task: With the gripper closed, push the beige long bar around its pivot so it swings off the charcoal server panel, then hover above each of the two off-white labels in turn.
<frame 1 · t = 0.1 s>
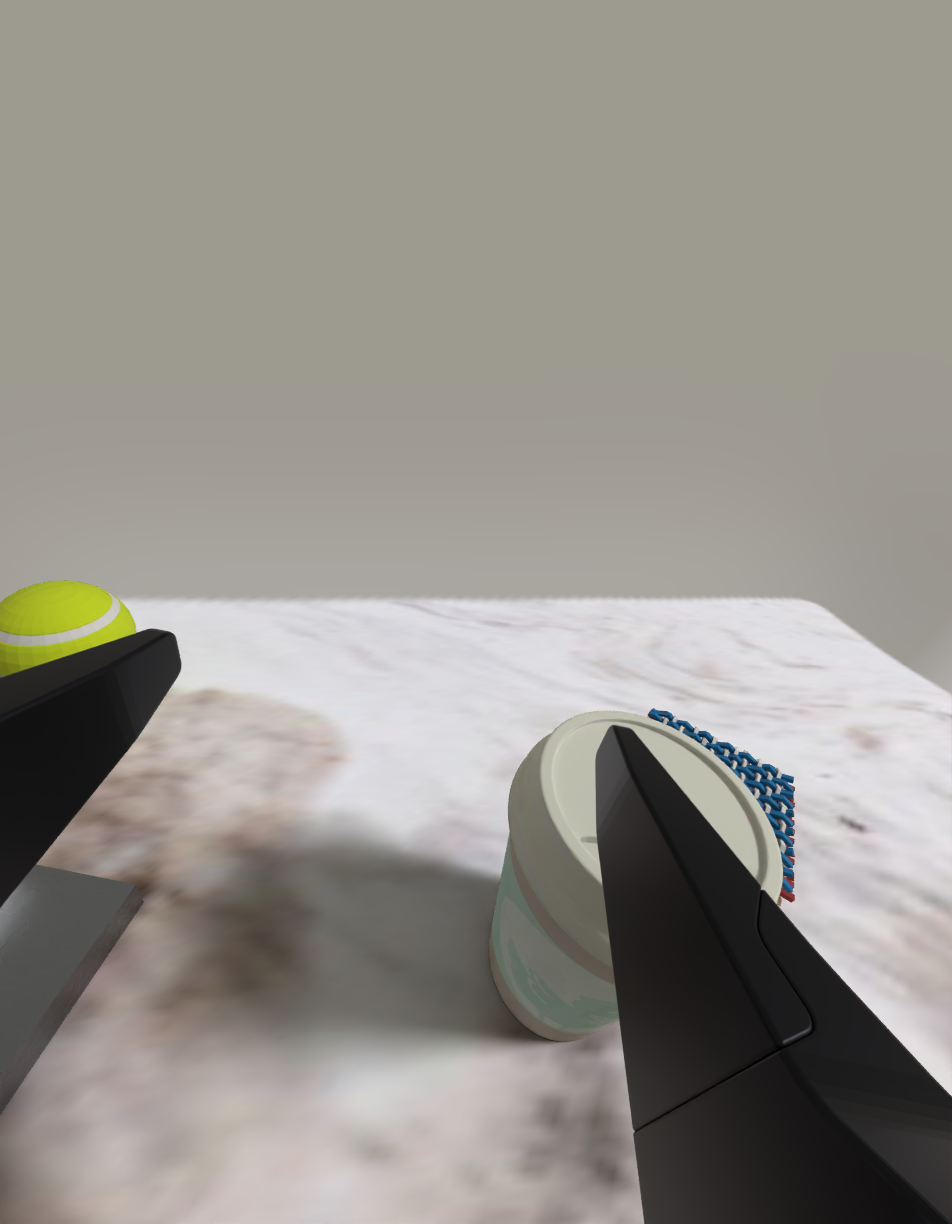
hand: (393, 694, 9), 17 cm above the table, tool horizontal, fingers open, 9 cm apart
coffee cup: (549, 958, 21), on the table
woven mat: (700, 801, 30), on the table
tennis ball: (82, 681, 29), on the table
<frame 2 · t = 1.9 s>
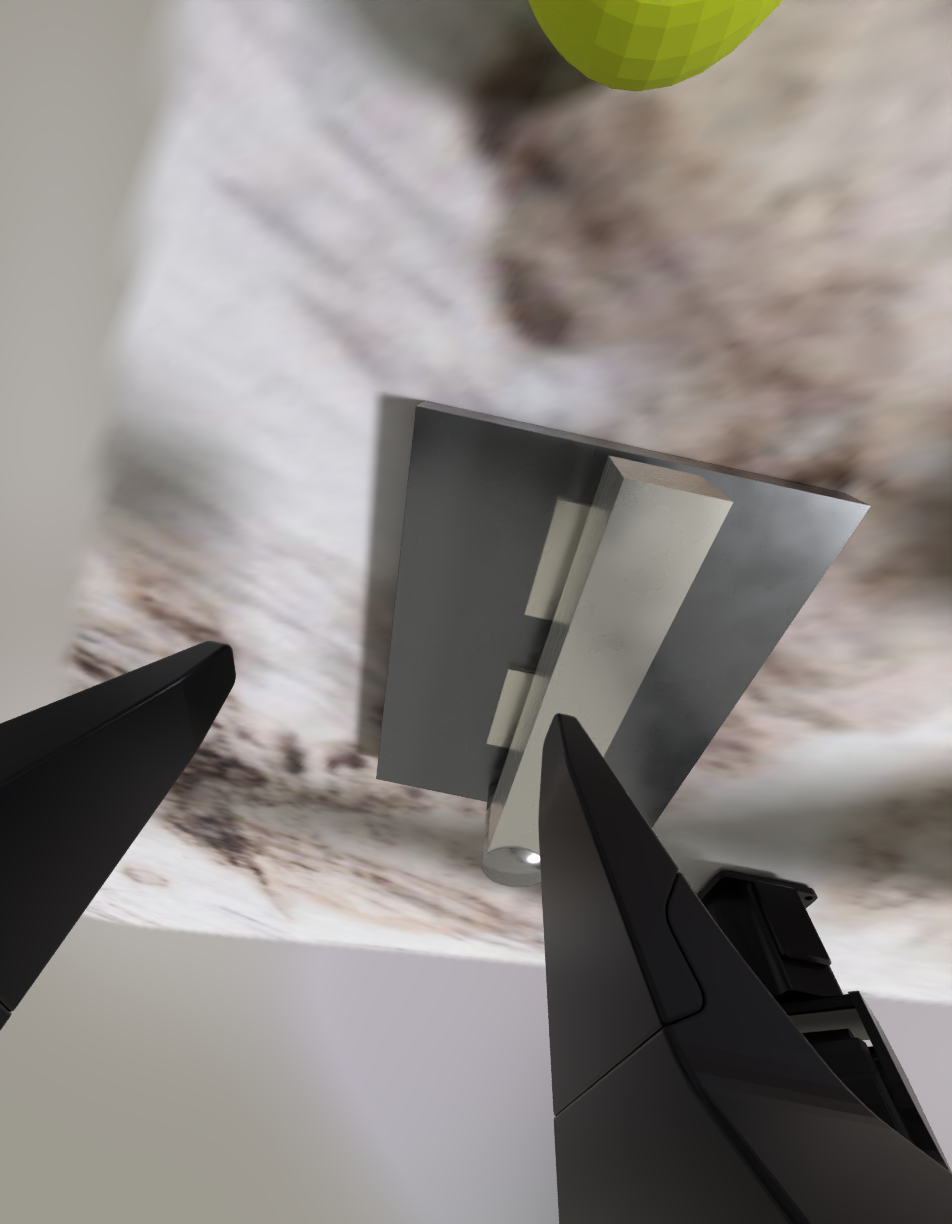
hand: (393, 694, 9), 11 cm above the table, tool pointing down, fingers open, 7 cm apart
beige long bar: (563, 723, 18), point 4 cm above the table, hinge at 0.0°
server panel: (559, 656, 22), on the table
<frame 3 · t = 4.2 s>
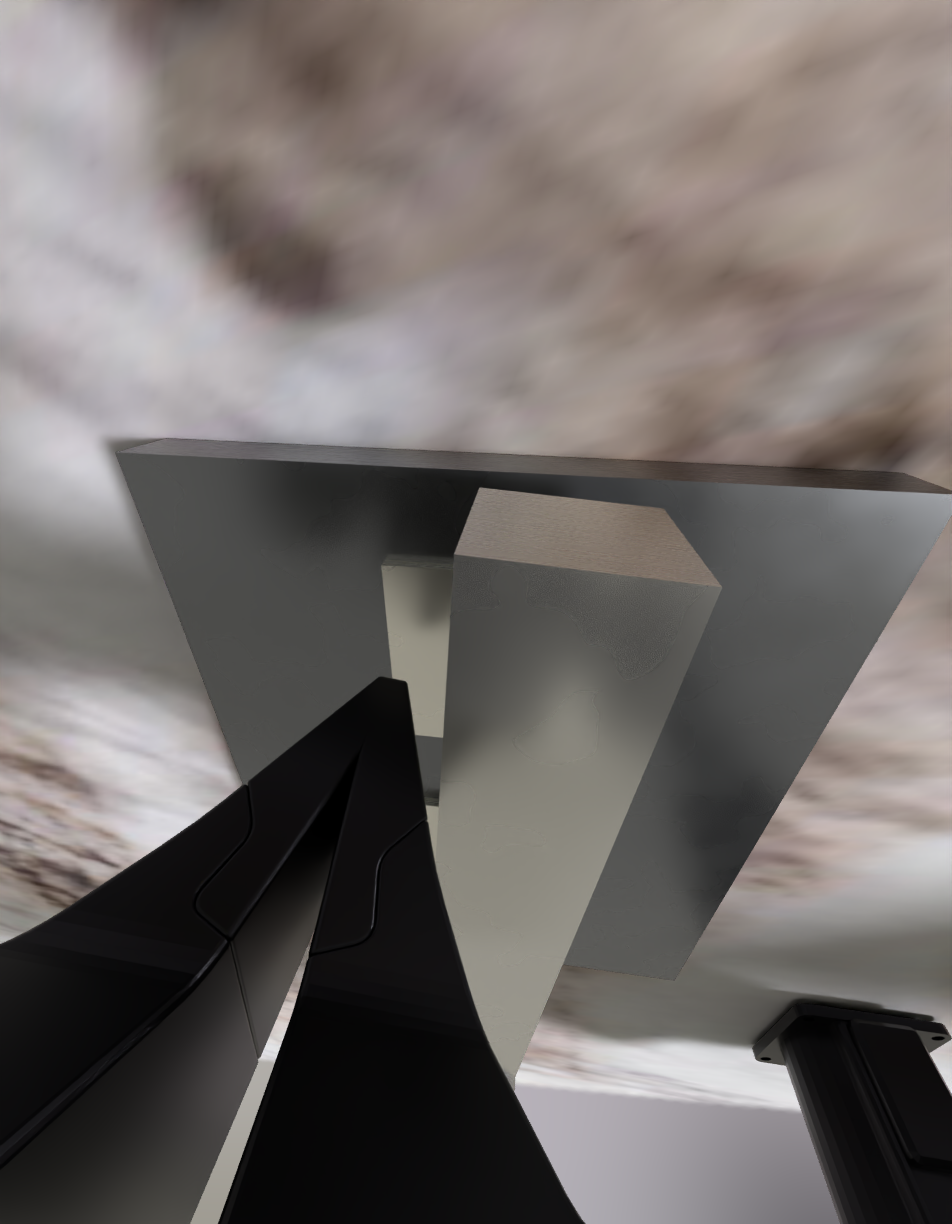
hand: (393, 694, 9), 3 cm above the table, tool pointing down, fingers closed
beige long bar: (497, 905, 12), point 4 cm above the table, hinge at -3.5°, touching gripper
server panel: (491, 764, 15), on the table
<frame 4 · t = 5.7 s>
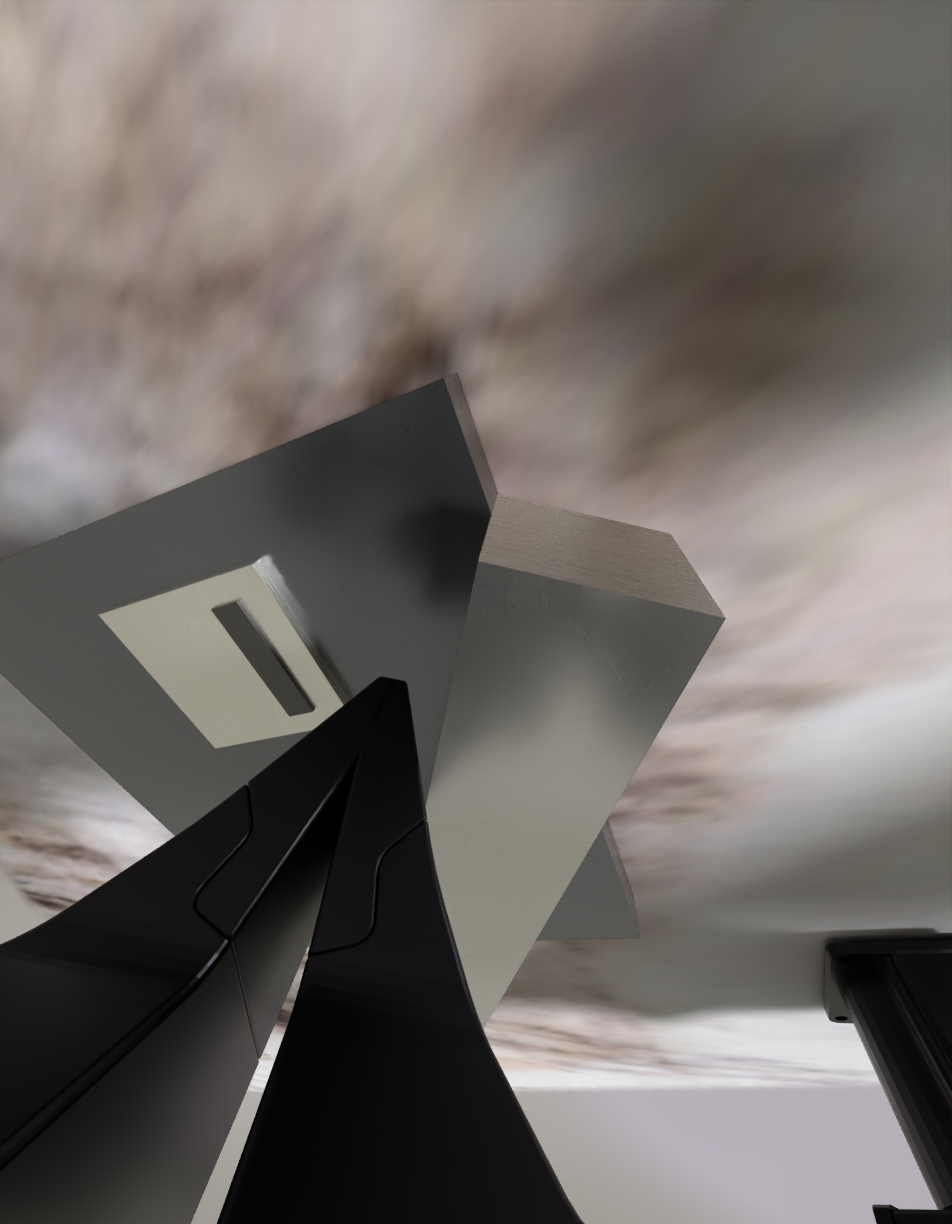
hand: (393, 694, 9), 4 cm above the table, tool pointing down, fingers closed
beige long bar: (465, 898, 12), point 4 cm above the table, hinge at -31.0°, touching gripper
server panel: (351, 757, 16), on the table
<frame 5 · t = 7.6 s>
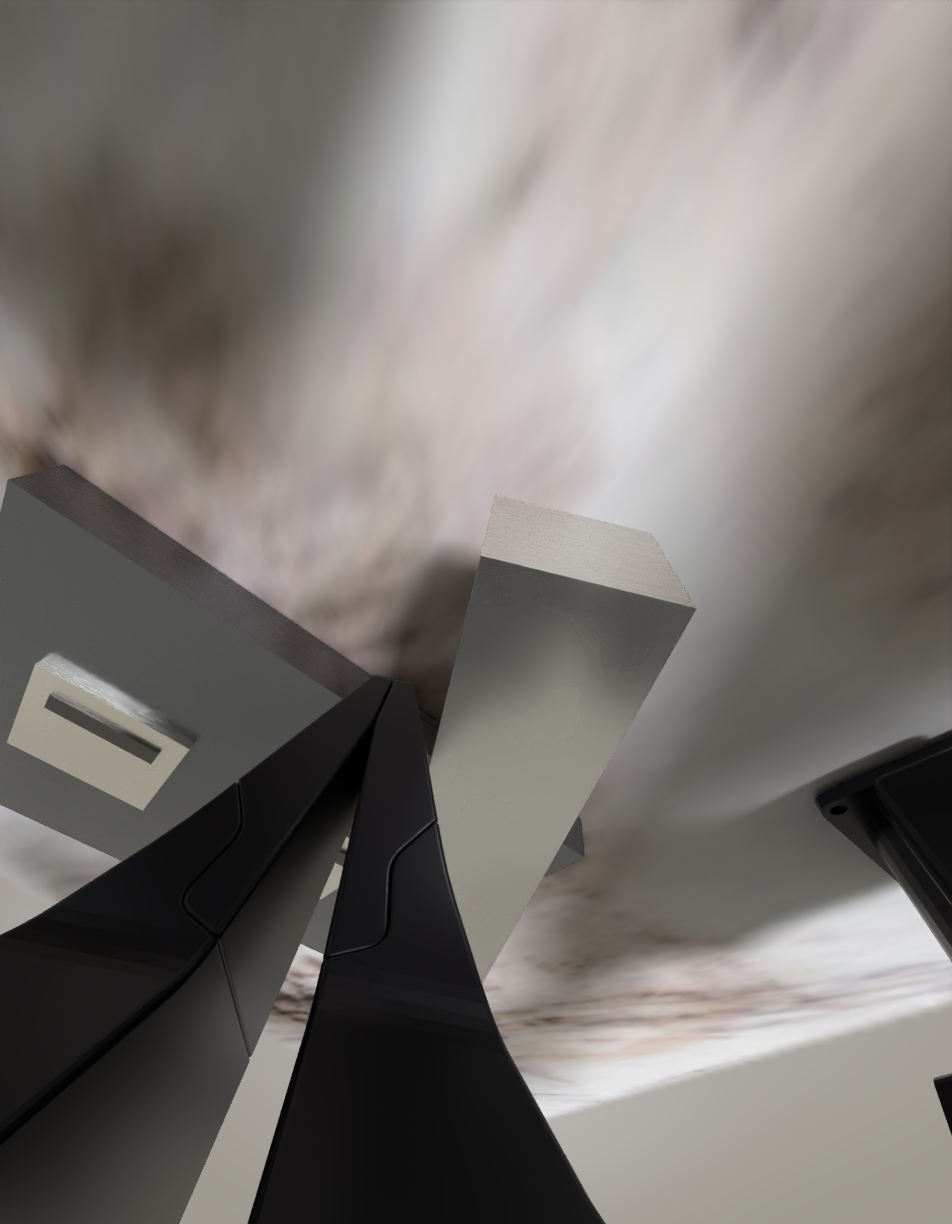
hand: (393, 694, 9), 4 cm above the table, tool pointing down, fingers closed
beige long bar: (458, 874, 13), point 4 cm above the table, hinge at -61.4°
server panel: (264, 781, 18), on the table
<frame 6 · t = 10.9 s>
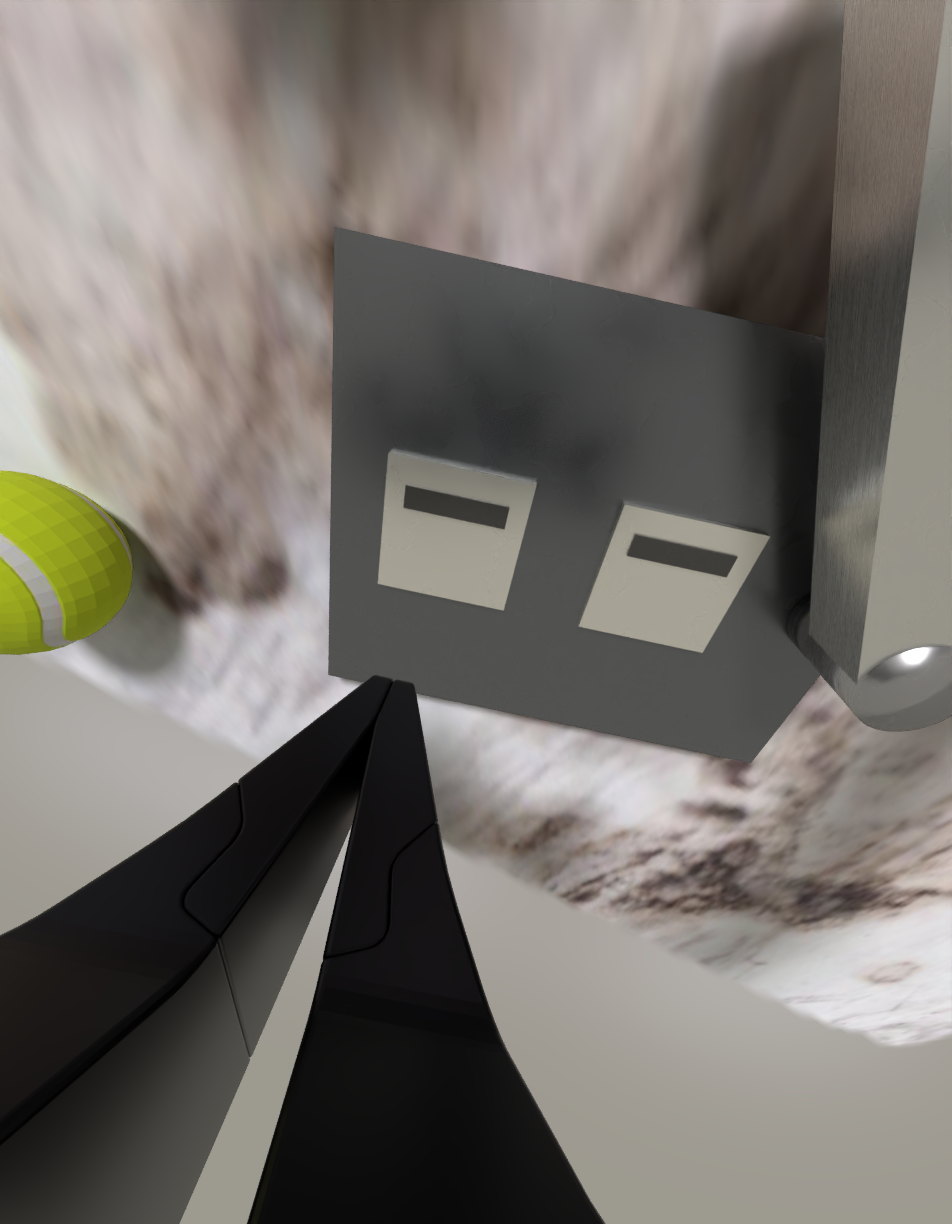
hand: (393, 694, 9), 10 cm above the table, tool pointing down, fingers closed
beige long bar: (932, 368, 10), point 4 cm above the table, hinge at -61.4°
server panel: (593, 550, 18), on the table
tennis ball: (97, 529, 20), on the table
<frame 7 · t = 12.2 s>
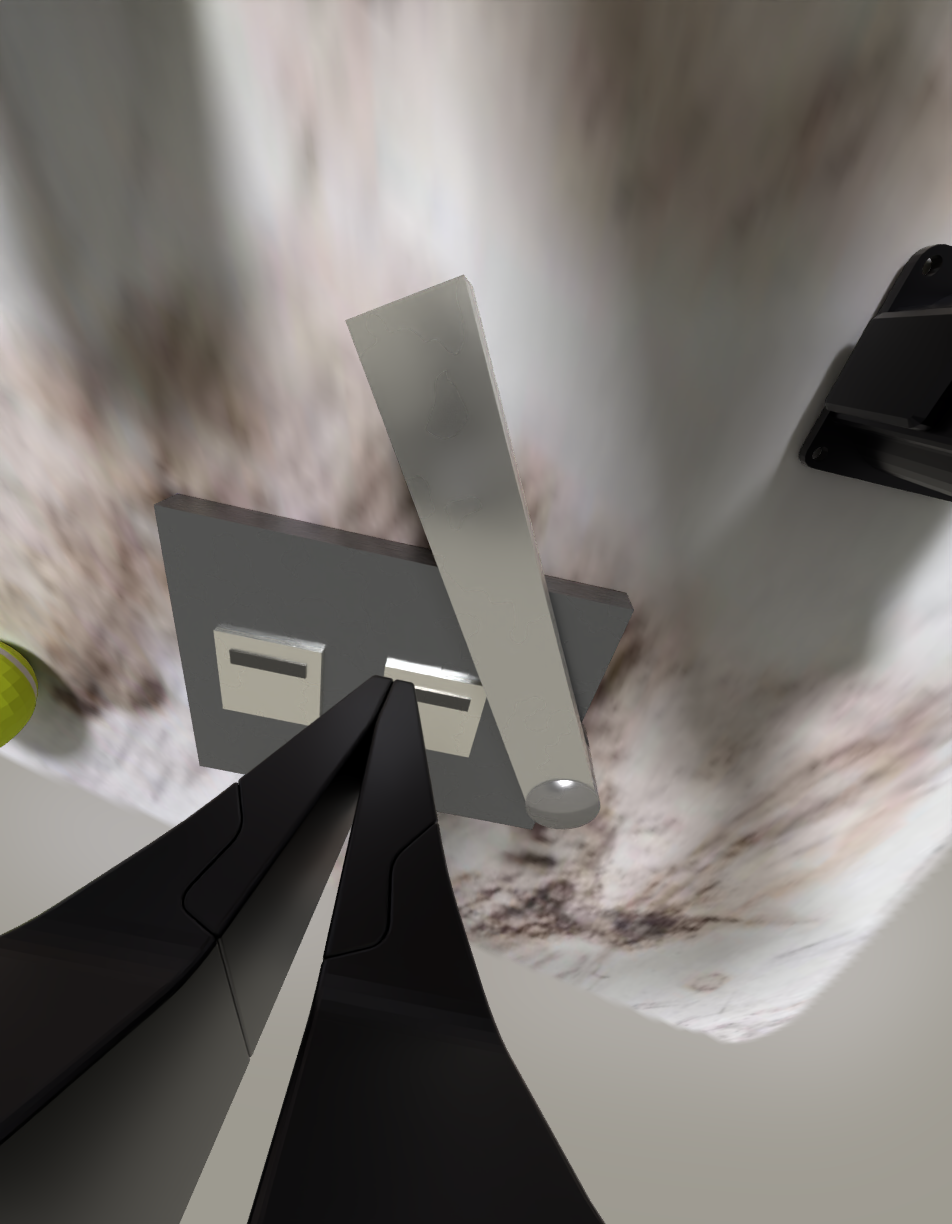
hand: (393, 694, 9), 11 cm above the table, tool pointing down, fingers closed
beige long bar: (512, 626, 17), point 4 cm above the table, hinge at -61.4°
server panel: (388, 681, 24), on the table
tennis ball: (12, 655, 25), on the table
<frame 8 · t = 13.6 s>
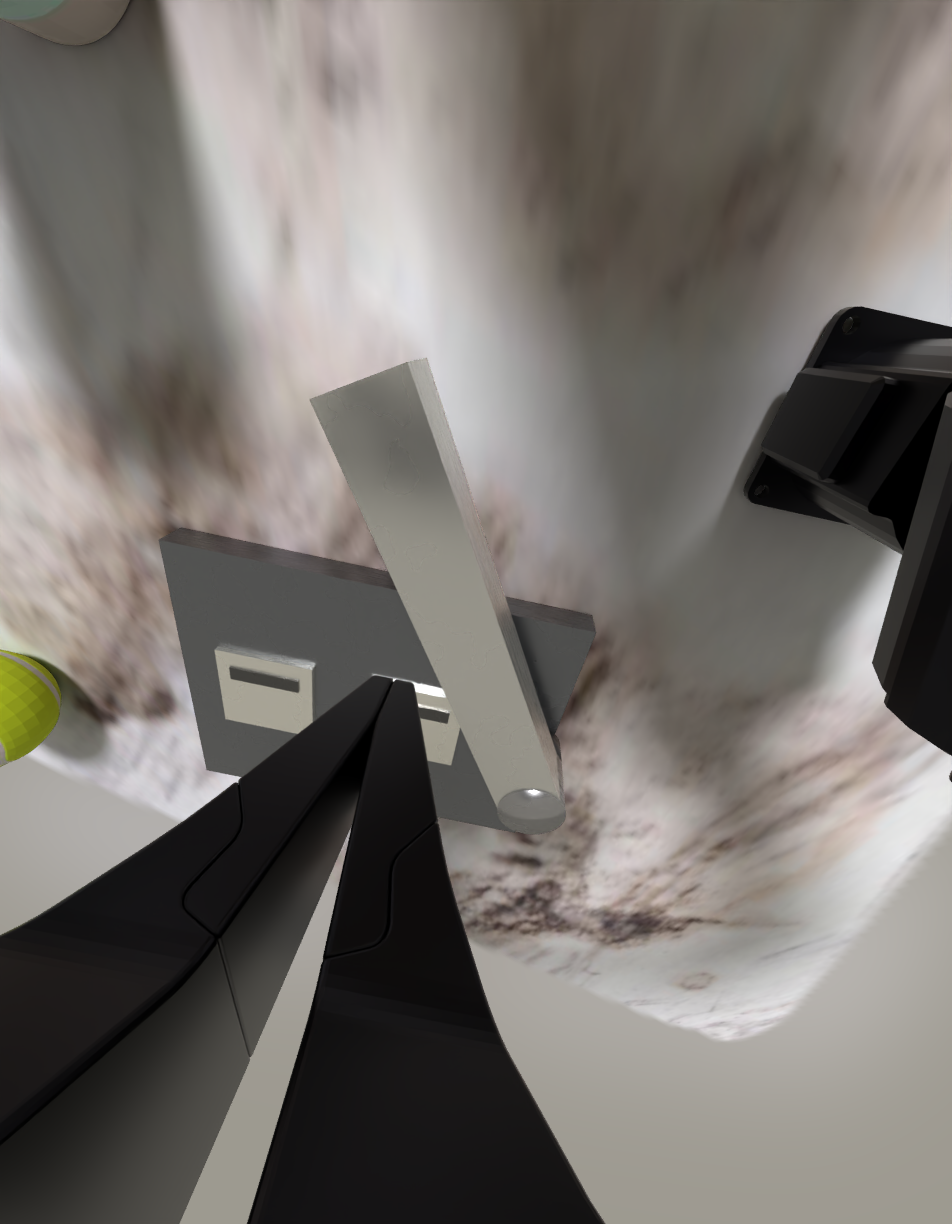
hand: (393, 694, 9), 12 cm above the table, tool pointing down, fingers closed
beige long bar: (477, 650, 18), point 4 cm above the table, hinge at -61.4°
server panel: (376, 694, 26), on the table
tennis ball: (38, 669, 28), on the table
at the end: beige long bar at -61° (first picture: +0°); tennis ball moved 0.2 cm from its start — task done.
